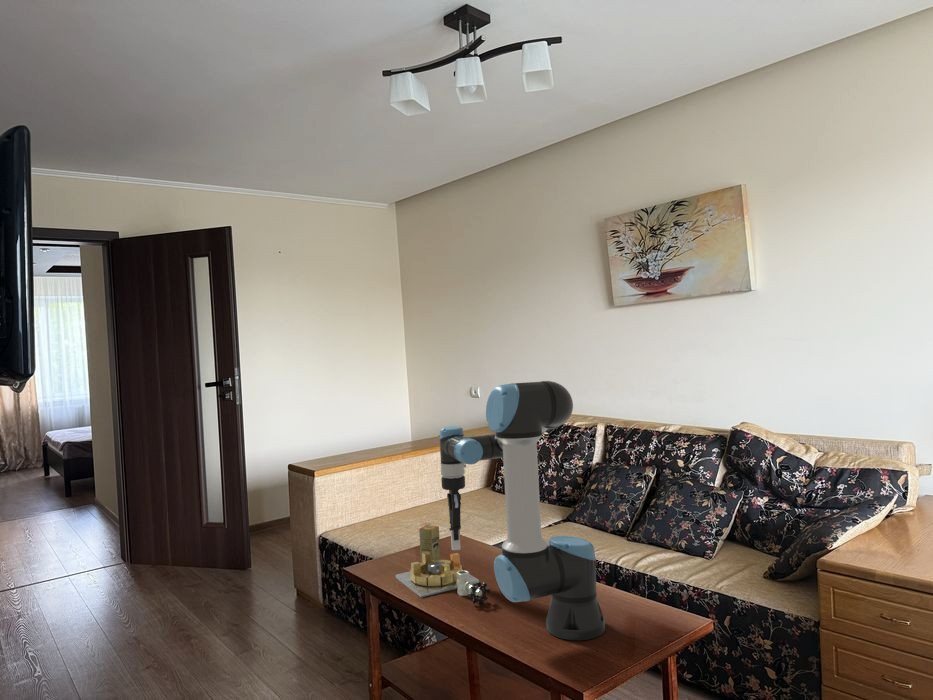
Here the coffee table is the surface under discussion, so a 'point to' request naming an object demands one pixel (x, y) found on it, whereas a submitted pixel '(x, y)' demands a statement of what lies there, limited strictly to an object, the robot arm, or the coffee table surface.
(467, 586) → the valve
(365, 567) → the coffee table surface
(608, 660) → the coffee table surface
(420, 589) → the hub plate
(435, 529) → the shoe polish box
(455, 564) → the tan toothed ring
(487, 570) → the coffee table surface
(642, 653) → the coffee table surface
